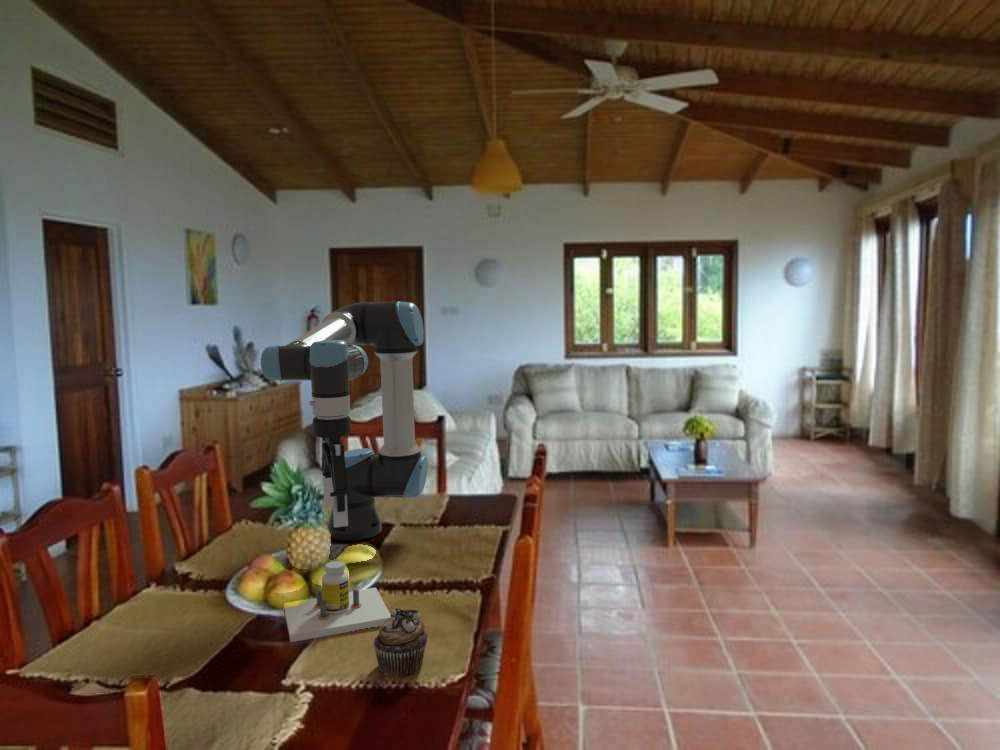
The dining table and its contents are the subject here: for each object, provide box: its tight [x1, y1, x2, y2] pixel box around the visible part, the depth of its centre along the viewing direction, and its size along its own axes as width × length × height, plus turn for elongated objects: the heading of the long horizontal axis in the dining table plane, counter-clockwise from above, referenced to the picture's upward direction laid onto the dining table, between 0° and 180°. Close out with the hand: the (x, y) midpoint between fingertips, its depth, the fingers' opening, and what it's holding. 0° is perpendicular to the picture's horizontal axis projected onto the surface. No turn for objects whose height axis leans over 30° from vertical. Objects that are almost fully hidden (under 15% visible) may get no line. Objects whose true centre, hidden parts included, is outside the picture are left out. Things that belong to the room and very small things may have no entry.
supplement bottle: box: [321, 560, 350, 614], centre depth 149 cm, size 5×5×10 cm
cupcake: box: [372, 607, 428, 679], centre depth 129 cm, size 10×10×10 cm
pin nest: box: [284, 587, 391, 643], centre depth 150 cm, size 16×20×5 cm
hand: (335, 516), depth 150 cm, fingers open, 13 cm apart
